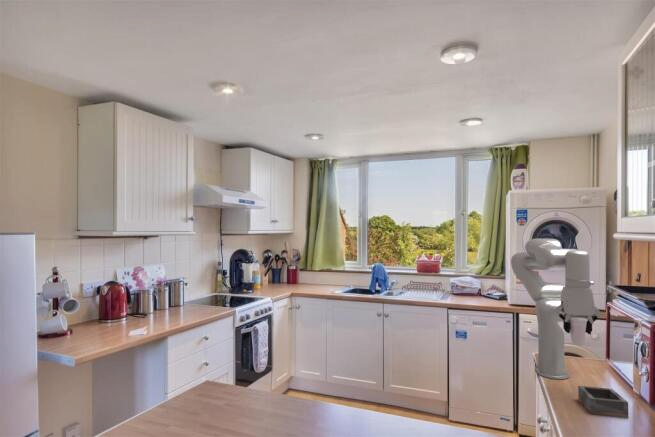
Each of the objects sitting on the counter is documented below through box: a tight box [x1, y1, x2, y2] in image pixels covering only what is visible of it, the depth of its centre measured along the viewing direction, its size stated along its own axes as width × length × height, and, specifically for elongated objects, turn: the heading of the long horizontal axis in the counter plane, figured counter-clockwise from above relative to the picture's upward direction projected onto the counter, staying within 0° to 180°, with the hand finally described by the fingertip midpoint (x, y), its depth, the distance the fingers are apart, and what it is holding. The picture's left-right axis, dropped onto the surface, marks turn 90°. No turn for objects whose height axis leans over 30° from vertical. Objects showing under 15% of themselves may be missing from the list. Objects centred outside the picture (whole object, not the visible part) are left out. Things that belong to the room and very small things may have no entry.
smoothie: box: [569, 315, 588, 346], centre depth 140 cm, size 6×6×14 cm
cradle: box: [577, 385, 629, 419], centre depth 129 cm, size 11×11×5 cm
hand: (577, 332), depth 140 cm, fingers closed on smoothie, 6 cm apart
